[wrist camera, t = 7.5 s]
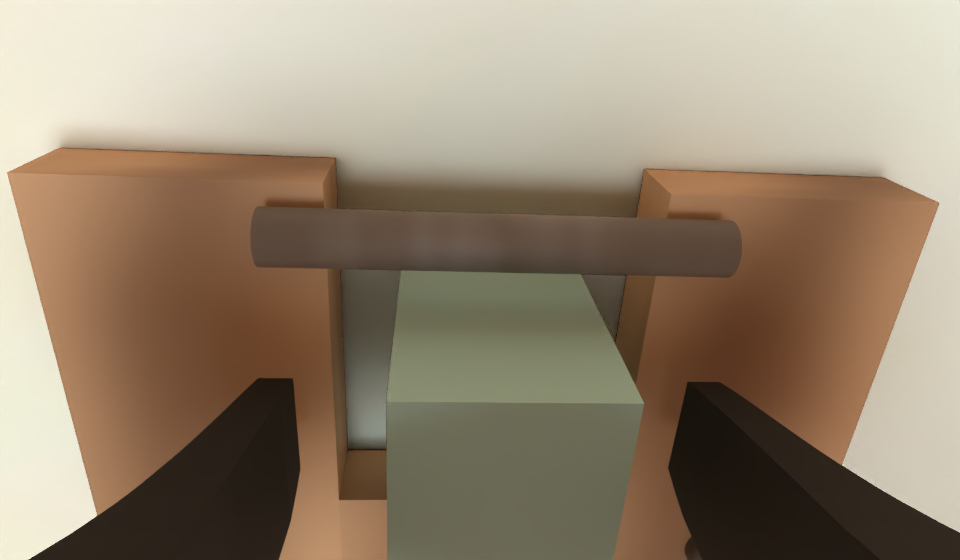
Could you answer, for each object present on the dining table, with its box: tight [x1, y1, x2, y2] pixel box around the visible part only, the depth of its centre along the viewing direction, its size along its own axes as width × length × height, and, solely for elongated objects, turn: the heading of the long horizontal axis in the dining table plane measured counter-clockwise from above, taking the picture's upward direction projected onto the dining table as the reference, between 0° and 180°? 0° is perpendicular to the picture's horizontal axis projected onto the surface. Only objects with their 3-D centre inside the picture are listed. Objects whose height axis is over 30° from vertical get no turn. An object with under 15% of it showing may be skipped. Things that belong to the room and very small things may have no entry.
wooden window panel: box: [7, 148, 939, 560], centre depth 13 cm, size 16×10×3 cm, turn 87°
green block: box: [386, 270, 644, 560], centre depth 12 cm, size 4×4×5 cm
